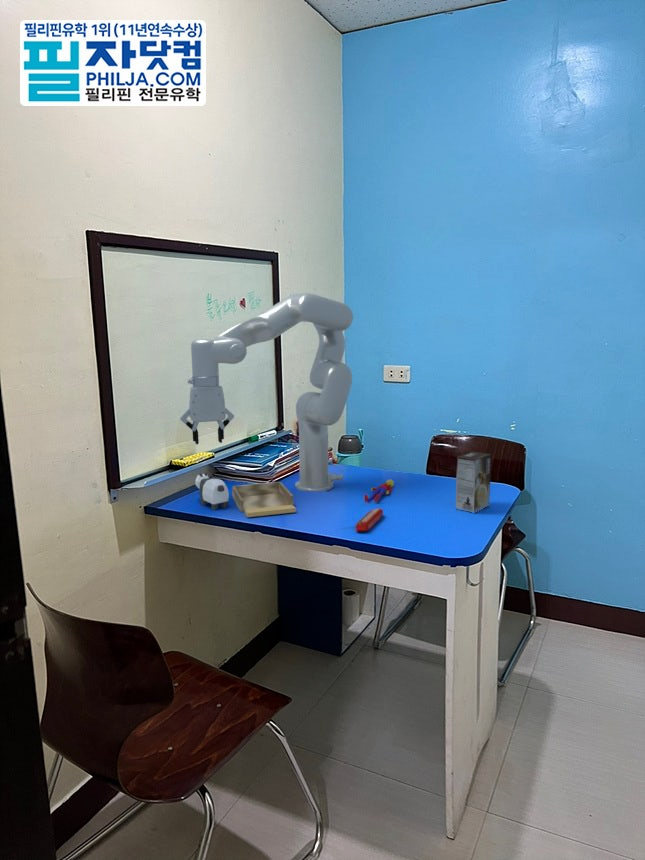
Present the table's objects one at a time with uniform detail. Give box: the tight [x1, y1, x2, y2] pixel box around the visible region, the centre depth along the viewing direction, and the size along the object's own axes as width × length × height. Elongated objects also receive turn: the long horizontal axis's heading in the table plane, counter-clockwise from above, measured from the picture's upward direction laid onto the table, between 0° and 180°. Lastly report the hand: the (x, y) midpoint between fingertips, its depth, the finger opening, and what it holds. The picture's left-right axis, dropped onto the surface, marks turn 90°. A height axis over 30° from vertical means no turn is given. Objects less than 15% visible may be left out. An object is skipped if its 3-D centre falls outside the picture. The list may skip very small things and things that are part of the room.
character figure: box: [363, 479, 395, 504], centre depth 200 cm, size 6×4×20 cm
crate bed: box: [231, 481, 294, 513], centre depth 192 cm, size 16×16×4 cm
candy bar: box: [355, 507, 384, 533], centre depth 173 cm, size 16×4×3 cm, turn 157°
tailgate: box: [244, 504, 297, 518], centre depth 181 cm, size 14×1×4 cm
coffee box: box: [455, 451, 492, 513], centre depth 184 cm, size 9×6×16 cm
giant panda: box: [194, 472, 230, 511], centre depth 190 cm, size 15×6×10 cm, turn 40°
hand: (208, 442), depth 186 cm, fingers open, 6 cm apart
